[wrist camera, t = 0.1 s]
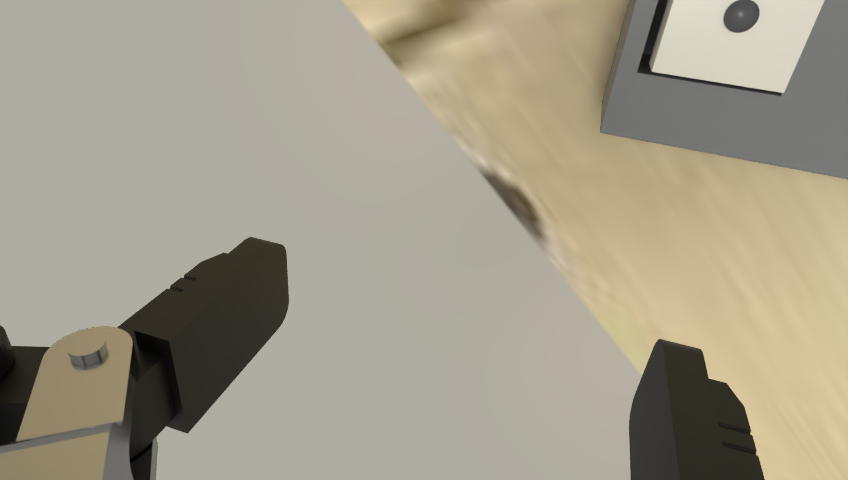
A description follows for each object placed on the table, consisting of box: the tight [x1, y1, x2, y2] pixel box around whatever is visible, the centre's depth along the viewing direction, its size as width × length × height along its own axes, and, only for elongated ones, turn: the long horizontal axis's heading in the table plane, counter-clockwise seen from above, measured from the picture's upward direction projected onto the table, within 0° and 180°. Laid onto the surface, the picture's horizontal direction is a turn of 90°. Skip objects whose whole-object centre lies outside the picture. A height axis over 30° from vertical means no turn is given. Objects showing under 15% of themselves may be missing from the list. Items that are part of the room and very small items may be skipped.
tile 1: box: [649, 0, 825, 93], centre depth 26 cm, size 6×6×4 cm
